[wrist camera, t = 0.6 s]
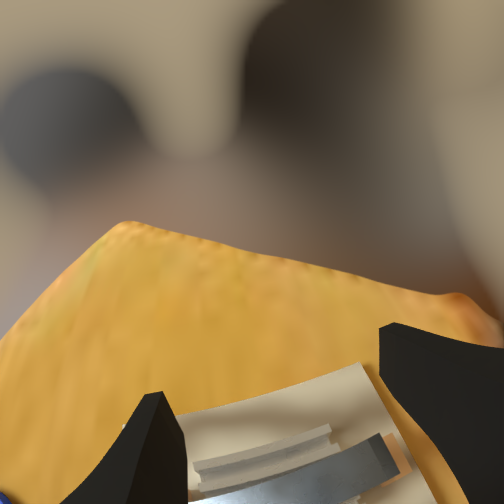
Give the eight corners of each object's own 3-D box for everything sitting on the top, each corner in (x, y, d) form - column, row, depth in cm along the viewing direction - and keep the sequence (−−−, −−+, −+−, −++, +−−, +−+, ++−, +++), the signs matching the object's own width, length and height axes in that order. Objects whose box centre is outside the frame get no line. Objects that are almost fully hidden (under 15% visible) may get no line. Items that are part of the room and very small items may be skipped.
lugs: (403, 492, 17) (421, 484, 15) (189, 561, 14) (176, 565, 12) (372, 432, 22) (385, 417, 19) (170, 493, 19) (155, 486, 16)
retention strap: (401, 477, 13) (403, 476, 12) (185, 547, 14) (173, 549, 13) (377, 431, 16) (377, 427, 15) (173, 504, 16) (161, 503, 15)
